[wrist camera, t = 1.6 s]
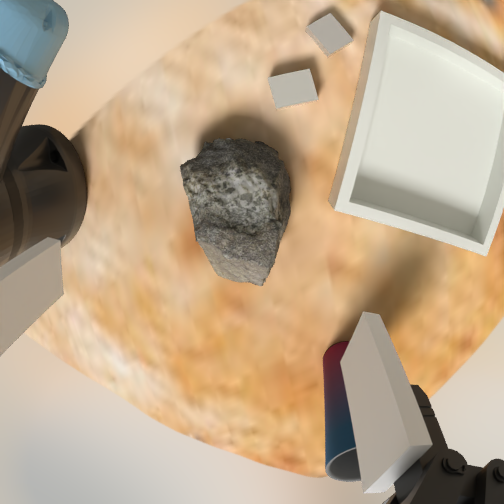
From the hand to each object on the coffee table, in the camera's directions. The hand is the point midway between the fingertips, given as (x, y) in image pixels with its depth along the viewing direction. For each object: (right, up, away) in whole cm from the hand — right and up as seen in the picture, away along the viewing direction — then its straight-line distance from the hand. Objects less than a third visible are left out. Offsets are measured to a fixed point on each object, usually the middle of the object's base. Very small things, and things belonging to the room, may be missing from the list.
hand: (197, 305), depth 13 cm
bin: (+19, +13, +13) cm, 27 cm away
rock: (+2, +7, +18) cm, 19 cm away
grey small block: (+6, +16, +13) cm, 22 cm away
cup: (+13, -10, +23) cm, 28 cm away
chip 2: (+9, +21, +11) cm, 26 cm away
